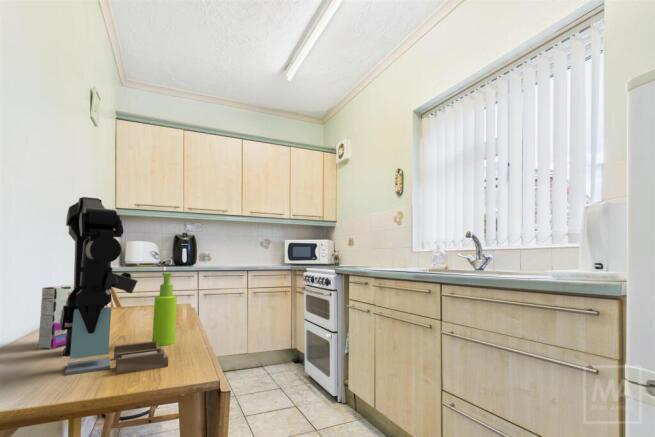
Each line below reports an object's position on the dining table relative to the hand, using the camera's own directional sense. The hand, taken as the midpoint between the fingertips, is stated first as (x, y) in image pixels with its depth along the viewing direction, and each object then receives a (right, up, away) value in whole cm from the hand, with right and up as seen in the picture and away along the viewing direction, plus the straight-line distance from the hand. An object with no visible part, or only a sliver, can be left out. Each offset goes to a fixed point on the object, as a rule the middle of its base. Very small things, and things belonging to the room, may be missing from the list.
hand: (91, 331), depth 79 cm
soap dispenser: (+6, -10, +21) cm, 24 cm away
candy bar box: (-21, -10, +20) cm, 31 cm away
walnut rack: (+9, -8, +2) cm, 12 cm away
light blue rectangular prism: (0, -5, 0) cm, 5 cm away
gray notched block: (+12, -8, -1) cm, 14 cm away
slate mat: (0, -8, -1) cm, 8 cm away
